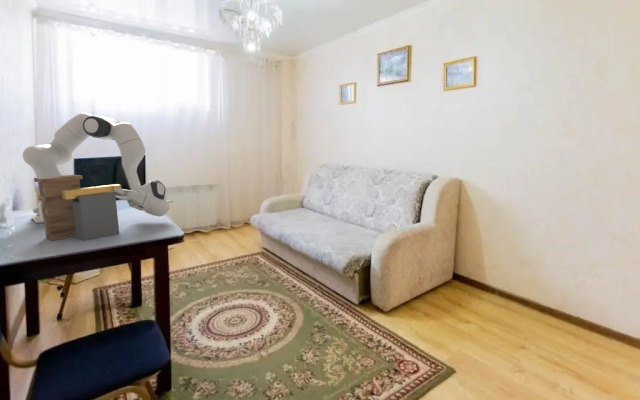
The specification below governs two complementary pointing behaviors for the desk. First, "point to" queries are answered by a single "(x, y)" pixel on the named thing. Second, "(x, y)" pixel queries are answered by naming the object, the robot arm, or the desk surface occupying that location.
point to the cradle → (95, 216)
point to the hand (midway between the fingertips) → (110, 188)
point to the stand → (57, 205)
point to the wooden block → (88, 191)
